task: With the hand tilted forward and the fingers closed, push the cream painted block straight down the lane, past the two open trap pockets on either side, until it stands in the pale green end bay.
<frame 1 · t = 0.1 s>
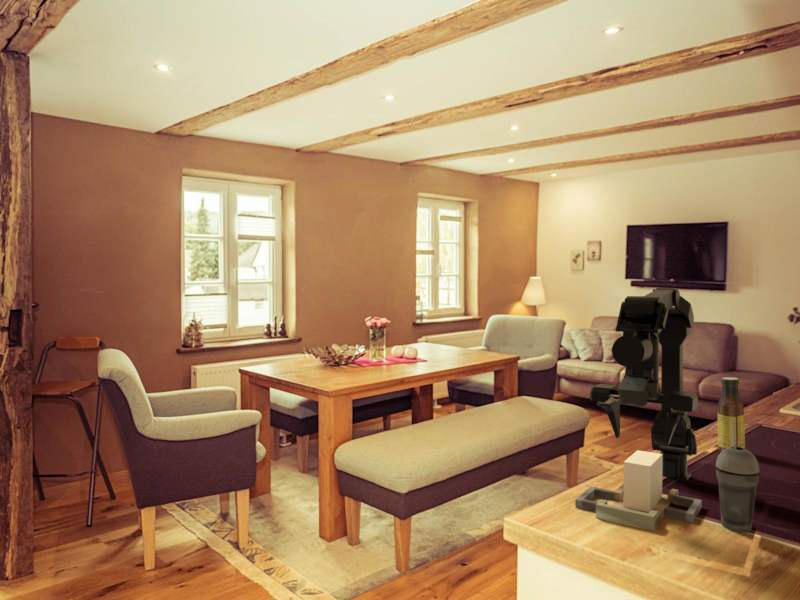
hand: (641, 441, 118), 15 cm above the counter, tool pointing down, fingers open, 9 cm apart
cream block: (643, 501, 123), point 1 cm above the counter, touching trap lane
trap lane: (639, 511, 120), on the counter
sauce bottle: (730, 453, 161), on the counter
beverage cup: (736, 533, 110), on the counter
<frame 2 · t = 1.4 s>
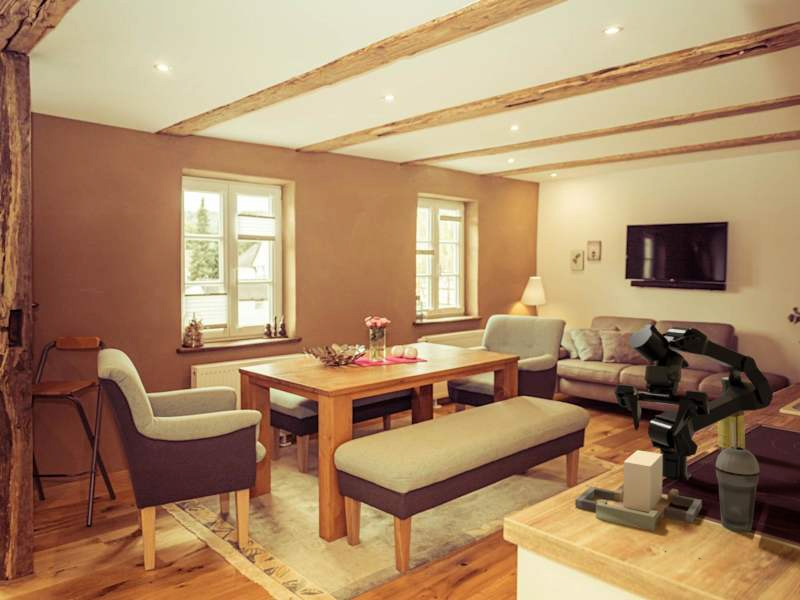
hand: (654, 432, 129), 13 cm above the counter, tool tilted 45°, fingers open, 7 cm apart
nothing on the counter moved.
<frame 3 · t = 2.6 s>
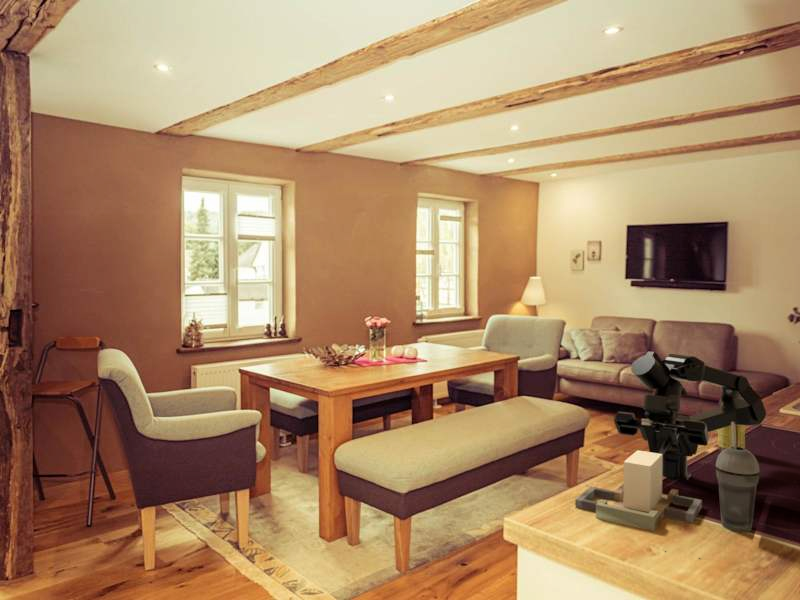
hand: (653, 461, 129), 7 cm above the counter, tool tilted 45°, fingers closed
nothing on the counter moved.
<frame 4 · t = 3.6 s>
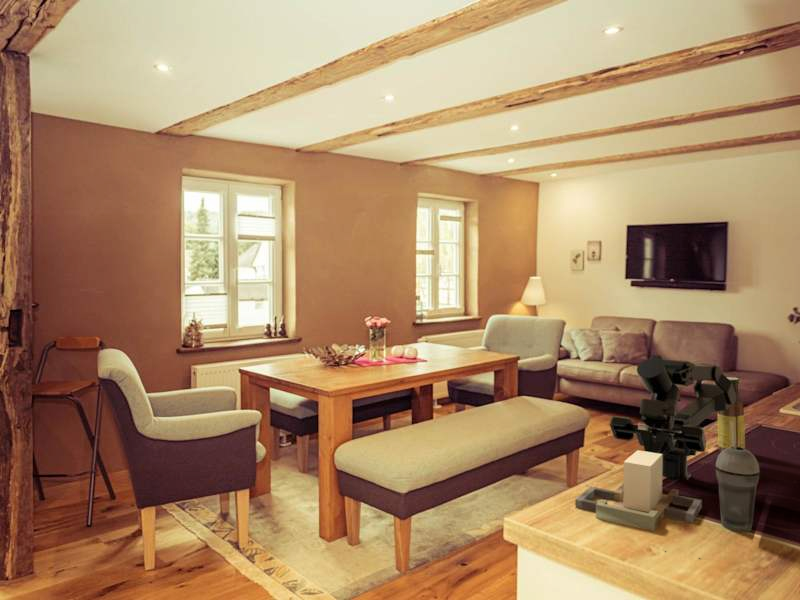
hand: (649, 467, 127), 7 cm above the counter, tool tilted 45°, fingers closed, pressing on cream block
cream block: (643, 501, 123), point 1 cm above the counter, touching gripper, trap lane
everything else where it was.
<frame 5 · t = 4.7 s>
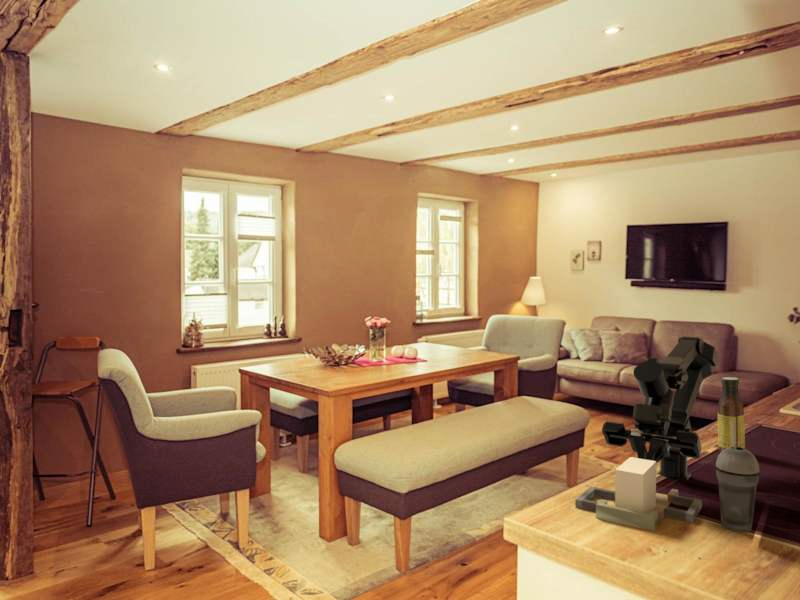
hand: (642, 474, 122), 7 cm above the counter, tool tilted 45°, fingers closed, pressing on cream block
cream block: (635, 511, 118), point 1 cm above the counter, touching gripper, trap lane
everything else where it was.
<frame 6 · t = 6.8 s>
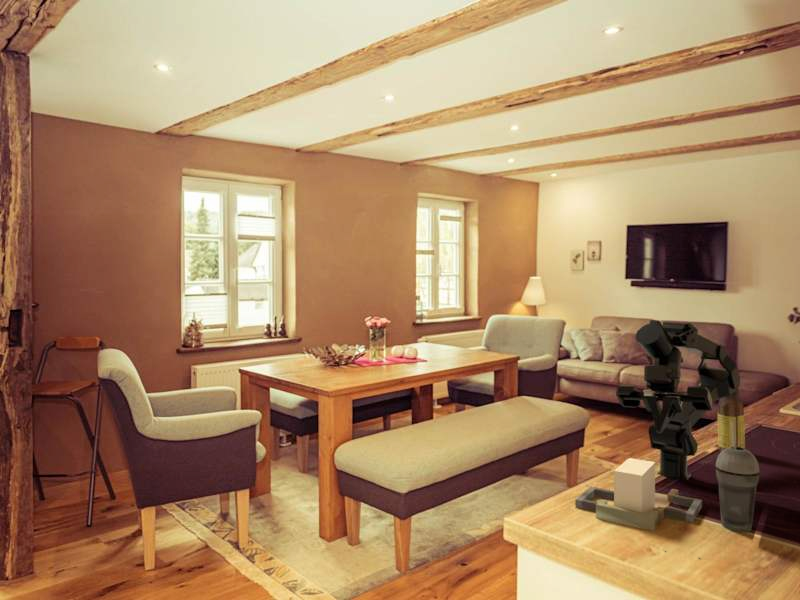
hand: (658, 432, 128), 14 cm above the counter, tool tilted 40°, fingers closed
cream block: (634, 512, 117), point 1 cm above the counter, touching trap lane
everything else where it was.
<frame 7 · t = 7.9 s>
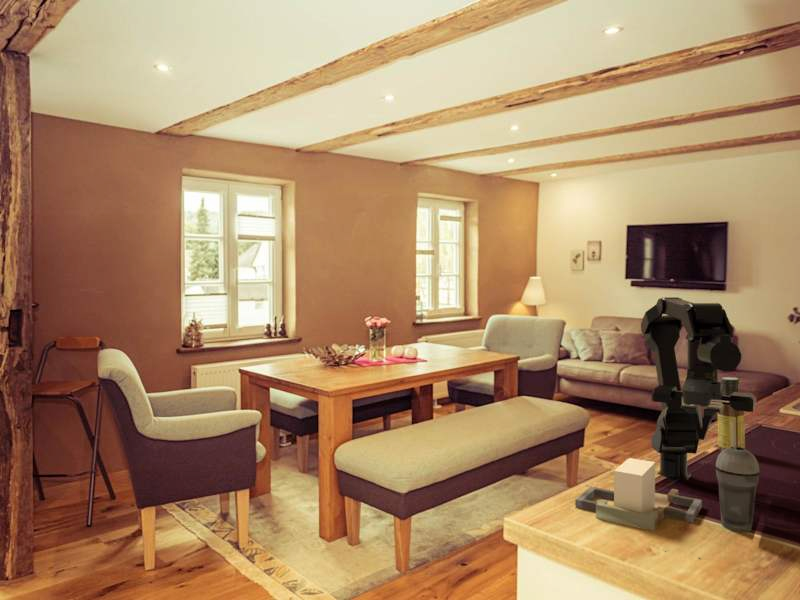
hand: (701, 439, 125), 13 cm above the counter, tool pointing down, fingers closed
nothing on the counter moved.
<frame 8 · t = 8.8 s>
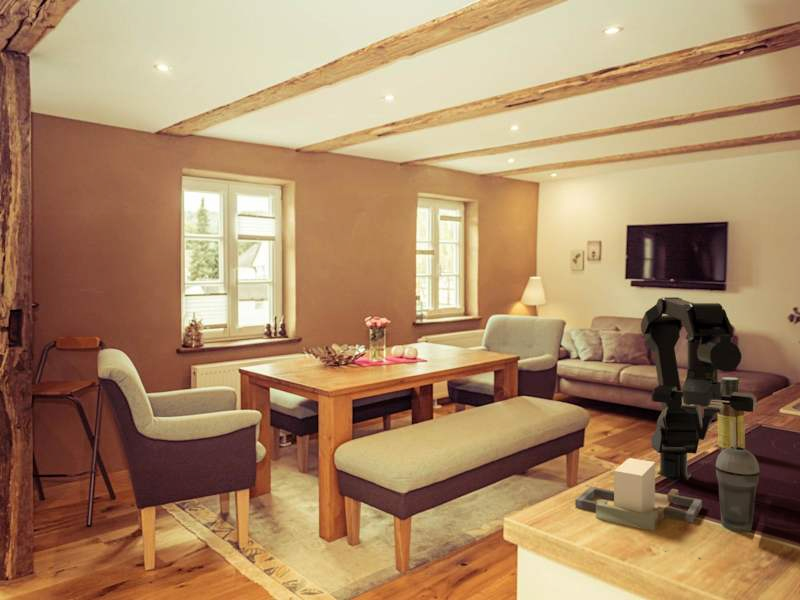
hand: (701, 439, 125), 13 cm above the counter, tool pointing down, fingers closed
nothing on the counter moved.
at the end: cream block 0.6 cm from the target spot, point 1.0 cm above the counter; cream block tilted 0°; cream block moved 6.7 cm from its start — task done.
